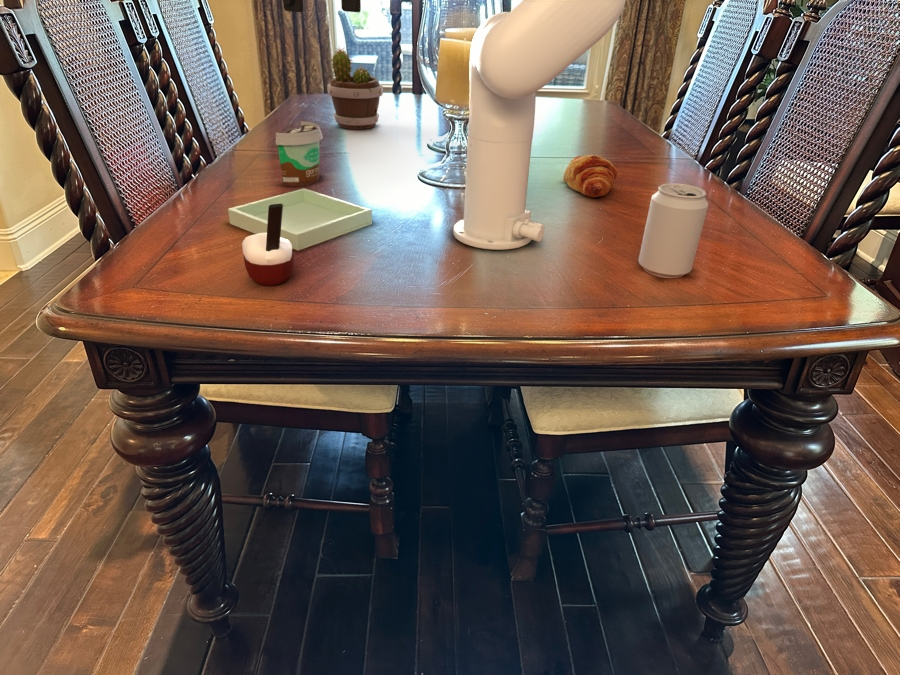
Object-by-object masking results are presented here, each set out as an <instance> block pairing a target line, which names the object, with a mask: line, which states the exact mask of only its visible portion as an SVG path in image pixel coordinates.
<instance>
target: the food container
mask: <svg viewBox="0 0 900 675" xmlns="http://www.w3.org/2000/svg"><path fill="white" fill-rule="evenodd" d="M322 140H323V134H322V130H321V128H320V125H319V124H317V123H314V122H310V121H306V120H305V121H302V120H301V121H300V126H299V127H297V128H290V129H289V130H287V131H286V132H275V145H276V146H277V150H278V158H279V164H280V171H281V177H282V184H283V186H284V187H285V186H286V187H301V186H308V185H312V184H315V183H317V182H319V180H320V141H322Z"/></svg>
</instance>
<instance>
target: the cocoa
mask: <svg viewBox="0 0 900 675" xmlns="http://www.w3.org/2000/svg"><path fill="white" fill-rule="evenodd" d="M282 212H283V204H272V205H269V208H268V224H267V233H259V234H251V235H248V236H246V237H245V238H244V239H243V241H242V242H241V245H242V246H241V248H242V257H243V262H244V267H245V269H246V272H247V275H248V277H249V278H250V279H251V280H252V281H253V282H255V283H256V284H258V285H262V286H265V287H266V286H269V287H272V286H273V287H274V286H277V285H280V284H282V283H284V282H286V281H287V280H288V279H289V277H290V276H291V275H292V272H293V268H294V253H293V249H292V245H291V243H290V242H289V240H288V239H284V238H281V237H280V235H281V223H282Z"/></svg>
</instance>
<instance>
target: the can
mask: <svg viewBox="0 0 900 675" xmlns="http://www.w3.org/2000/svg"><path fill="white" fill-rule="evenodd" d="M706 196H707V192H706V190H704V189H703V188H701V187H698V186H695V185H691V184H686V183H677V182H669V183H662V184H660V185H658V191H656V192H655V193H654V194H652V195H651V197H650V203H649V206H648V207H649V208H648V213H647V217H646V221H645V226H644V231H643V237H642V241H641V246H640V251H639V256H638V264H639V265H640V266H641V267H642V268H643V271H645V272H646V273H647V274H650V275H652V276H655V277H659V278H665V279H678V278H683V277H684V276H685V275H687V274H689V273H691V272H692V270H693V267H694V262H695V259H696V255H697V251H698V246H699V243H700V239H701V235H702V231H703V228H704V224H705V221H706V216H707V212H708V209H709V201H707V198H706Z"/></svg>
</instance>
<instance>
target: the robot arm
mask: <svg viewBox="0 0 900 675" xmlns="http://www.w3.org/2000/svg"><path fill="white" fill-rule="evenodd" d="M340 1H341V2H340V3H341V10H342V11H343V12H349V13H360V12H362V11H361V8H362V7H361V6H362V4H361V0H340ZM626 1H627V0H522V1H521V2H520V3H519V4H518V5H516V6H515V7H514V8H513V9H512V10H511V11H503V12H497V13H494V14H493V15H490V16H489V17H488V18H487V19H485V20H484V21H483V22H482V23H481V24H480V25H479V27H478V28H477V30H476V31H475V33H474V36H473V38H472V40H471V46H470V52H469V103H468V106H469V107H468V127H467V128H468V130H467V144H466V163H465V165H466V166H465V186H464V187H465V188H464V205H463V206H464V207H463V219H460V220H458V221H457V222H456V223H455V224H454V225H453V229H452V230H453V231H452V232H453V234H452V235H453V236H454V238H455V239H456V240H458V242H460V243H462V244H464V245H467V246H470V247H473V248H477V249H482V250H493V251H494V250H495V251H503V250H513V249H519V248H521V247H524V246H526V245H528V244H529V243H530V242H531V241H535V242H537V243H538V242H541V241H542V240H543V238H544V235H545V234H544V233H545V232H544V231H545V225H544V224H542V223H538V222H534V221H532V220H531V215H532V211H531V210H527V209H526V203H527V195H528V184H529V176H530V165H531V156H532V155H531V154H532V145H533V137H534V128H535V120H536V118H535V116H536V98H537V96H536V95H537V92H538V91H540V90H541V89H543V88H544V87H545V86H546V85H548V84H549V83H550V82H551V81H553V80H554V79H555V78H557V77H558V75H560V74H561V73H563V71H565V70H566V69H567V68H568V67H570V66H571V65H572V64H573V63H574V62H576V61H577V60H578V59H579V58H580V57H581V56H583V55H584V54H585V53H586V52H587V51H588V50H590V49H591V48H592V47H593V46H595V45H596V44H597V43H598V42H599V41H600V40H601V39H603V38H604V37H605V36H606V35H607V34H608V33H609V31H611V29H612V28H613V27H614V25H615V24H616V23H617V21H618V20H619V19H620V17H621V15H622V13H623V10H624V9H625V5H626ZM282 7H283V10H284V11H285V12H292V13H302V12H303V11H304V0H282Z"/></svg>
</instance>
